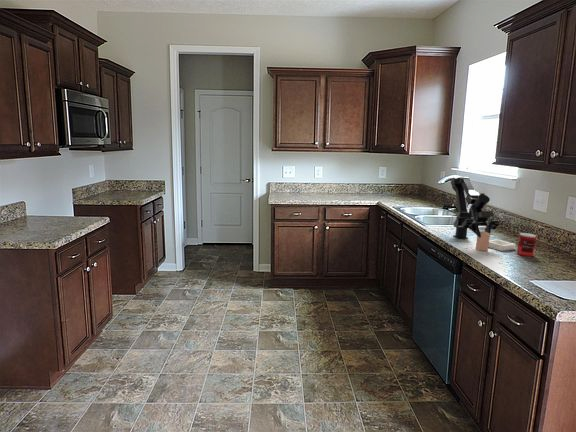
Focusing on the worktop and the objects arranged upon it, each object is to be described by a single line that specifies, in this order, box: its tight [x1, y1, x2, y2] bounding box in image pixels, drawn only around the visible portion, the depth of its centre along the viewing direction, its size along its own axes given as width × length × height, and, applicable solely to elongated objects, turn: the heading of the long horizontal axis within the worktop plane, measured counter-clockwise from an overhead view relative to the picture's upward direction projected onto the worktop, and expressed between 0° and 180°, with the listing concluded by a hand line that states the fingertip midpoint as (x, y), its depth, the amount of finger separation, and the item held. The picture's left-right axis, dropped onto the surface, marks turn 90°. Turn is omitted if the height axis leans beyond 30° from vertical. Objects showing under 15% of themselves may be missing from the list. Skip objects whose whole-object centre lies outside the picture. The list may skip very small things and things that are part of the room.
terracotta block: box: [475, 230, 491, 252], centre depth 227 cm, size 4×4×10 cm
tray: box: [488, 239, 517, 252], centre depth 234 cm, size 11×11×3 cm
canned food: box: [516, 232, 537, 258], centre depth 221 cm, size 8×8×11 cm
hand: (484, 237), depth 225 cm, fingers closed on terracotta block, 4 cm apart
